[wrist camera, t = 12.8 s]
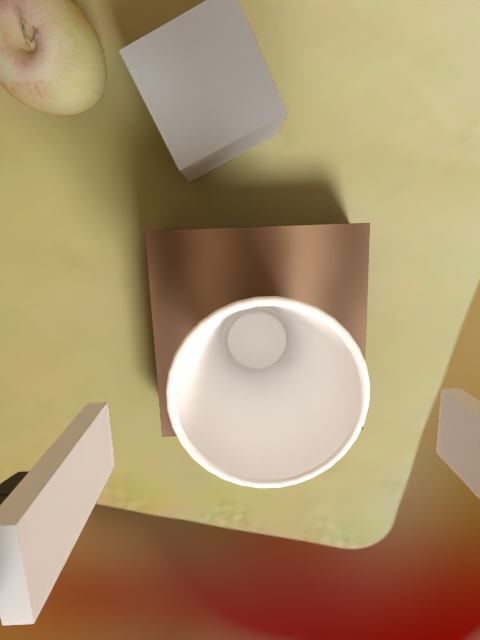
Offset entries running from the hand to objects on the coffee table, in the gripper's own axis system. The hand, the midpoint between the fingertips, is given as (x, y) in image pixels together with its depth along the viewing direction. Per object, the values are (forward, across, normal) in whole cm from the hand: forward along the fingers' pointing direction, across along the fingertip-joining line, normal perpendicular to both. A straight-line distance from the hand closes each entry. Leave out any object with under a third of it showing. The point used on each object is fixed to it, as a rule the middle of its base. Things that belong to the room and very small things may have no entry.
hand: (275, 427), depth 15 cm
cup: (+15, 0, 0) cm, 15 cm away
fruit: (+20, +14, -20) cm, 31 cm away
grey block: (+20, +3, -17) cm, 26 cm away
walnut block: (+20, 0, 0) cm, 20 cm away
